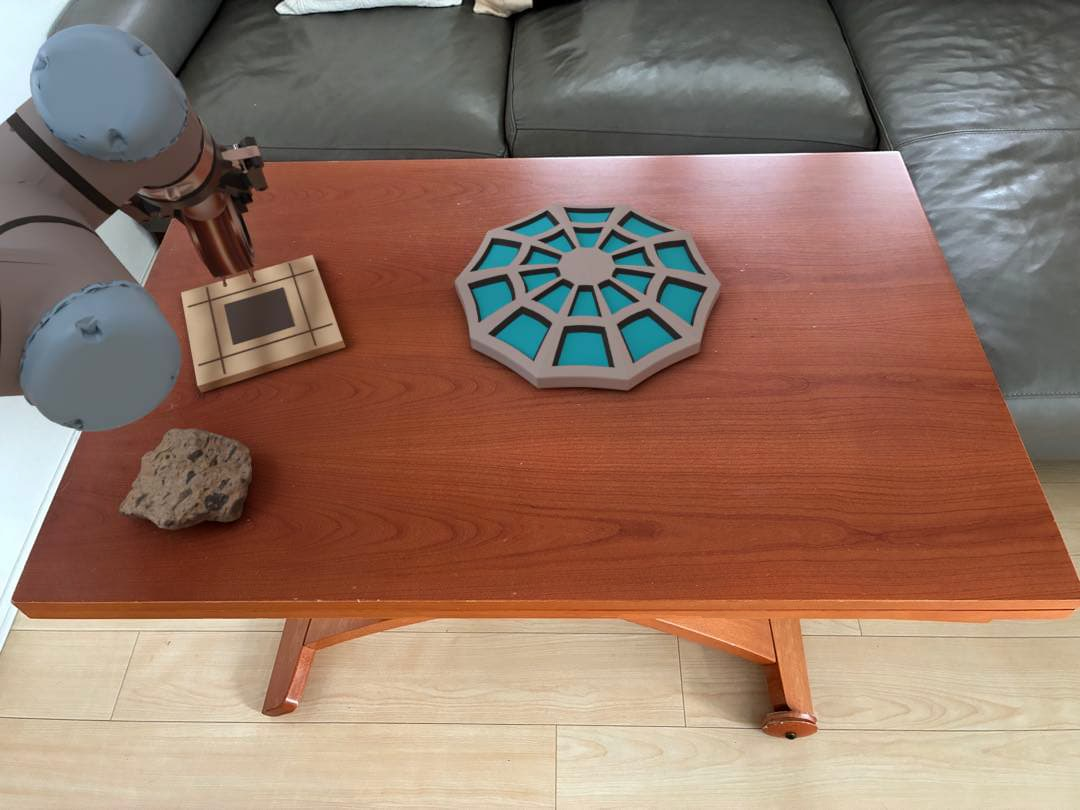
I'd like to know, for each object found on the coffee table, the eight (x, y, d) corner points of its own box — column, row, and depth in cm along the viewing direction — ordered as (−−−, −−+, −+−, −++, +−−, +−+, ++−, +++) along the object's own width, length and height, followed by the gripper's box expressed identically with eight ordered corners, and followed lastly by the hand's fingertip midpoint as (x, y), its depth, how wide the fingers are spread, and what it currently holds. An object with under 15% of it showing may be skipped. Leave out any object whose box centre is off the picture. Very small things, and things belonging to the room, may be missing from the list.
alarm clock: (267, 292, 80) (214, 168, 68) (221, 305, 79) (158, 182, 67) (251, 231, 86) (199, 108, 75) (207, 243, 85) (148, 120, 74)
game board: (201, 393, 83) (196, 385, 82) (184, 299, 92) (180, 291, 91) (345, 347, 86) (342, 339, 85) (315, 261, 96) (312, 253, 95)
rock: (219, 554, 71) (201, 530, 67) (118, 524, 73) (96, 501, 70) (276, 462, 77) (262, 437, 74) (181, 438, 79) (164, 413, 76)
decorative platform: (439, 389, 82) (431, 358, 78) (471, 217, 100) (466, 184, 96) (730, 396, 80) (737, 364, 76) (709, 218, 98) (714, 185, 94)
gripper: (57, 232, 57) (139, 266, 79) (296, 169, 61) (310, 218, 83) (17, 131, 56) (112, 195, 78) (262, 73, 60) (286, 150, 82)
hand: (214, 207), depth 81 cm, fingers closed on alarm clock, 5 cm apart
